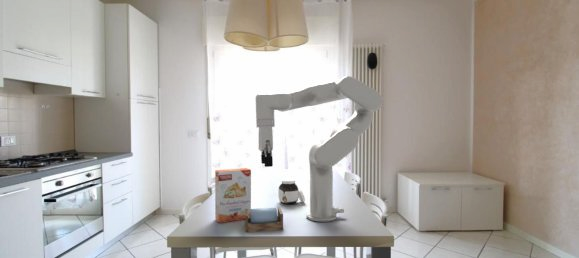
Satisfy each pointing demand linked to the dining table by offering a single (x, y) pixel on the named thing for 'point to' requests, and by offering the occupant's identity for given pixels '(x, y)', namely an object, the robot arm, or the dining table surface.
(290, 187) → the spread jar
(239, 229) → the dining table surface
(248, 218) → the cradle
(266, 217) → the roll
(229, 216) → the cracker box
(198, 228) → the dining table surface
